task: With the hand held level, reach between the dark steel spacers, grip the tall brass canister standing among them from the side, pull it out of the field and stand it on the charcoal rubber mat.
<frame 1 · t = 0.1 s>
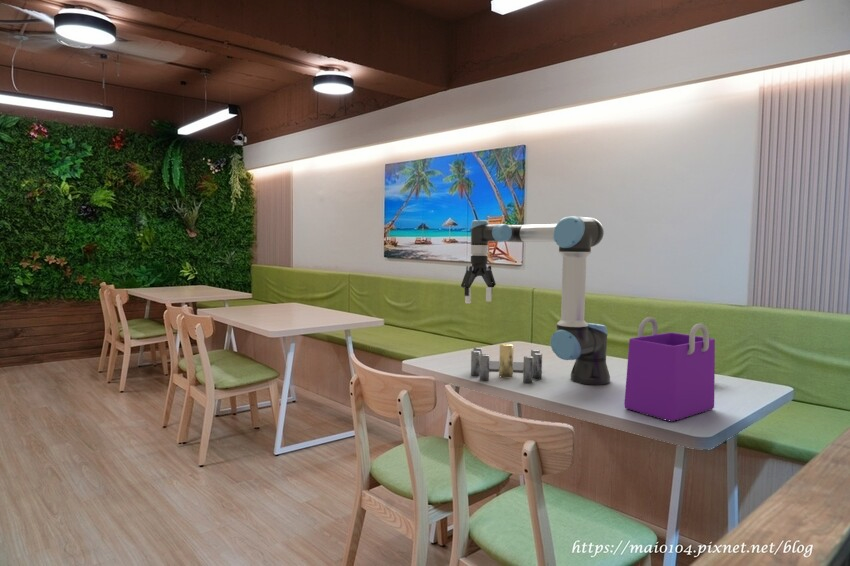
hand: (478, 302, 244), 28 cm above the table, tool pointing down, fingers open, 13 cm apart
brass canister: (505, 376, 223), on the table
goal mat: (505, 367, 239), on the table
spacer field: (505, 376, 223), on the table
shopping bag: (669, 410, 181), on the table
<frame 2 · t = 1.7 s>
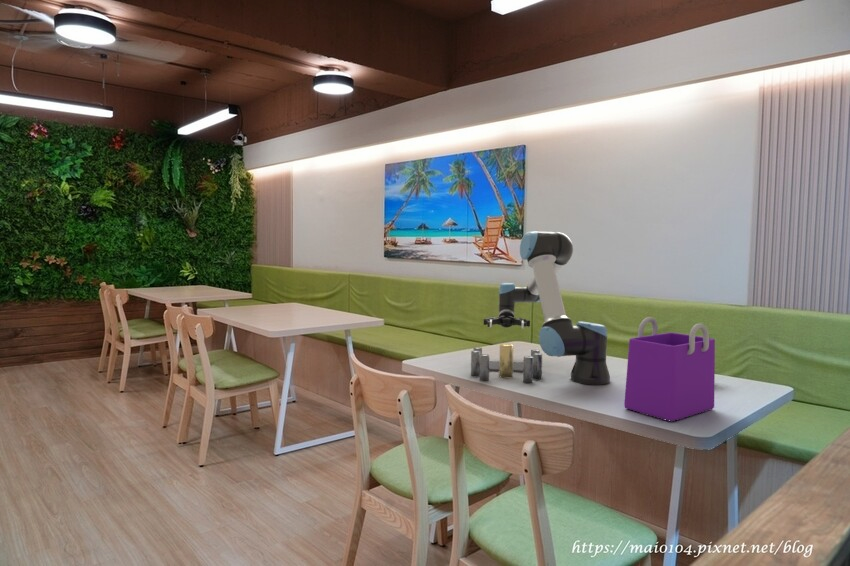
hand: (506, 325, 232), 20 cm above the table, tool horizontal, fingers open, 13 cm apart
nothing on the table moved.
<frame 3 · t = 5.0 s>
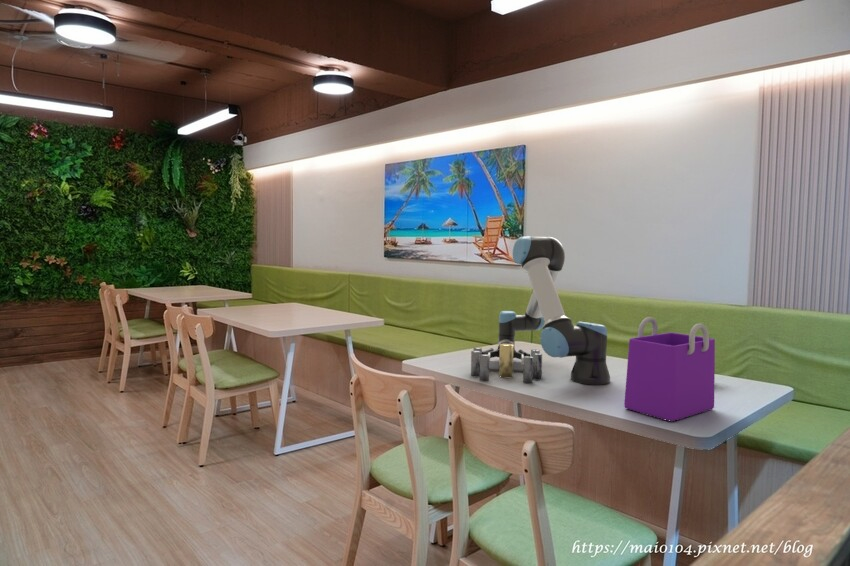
hand: (505, 360, 222), 7 cm above the table, tool horizontal, fingers open, 13 cm apart
nothing on the table moved.
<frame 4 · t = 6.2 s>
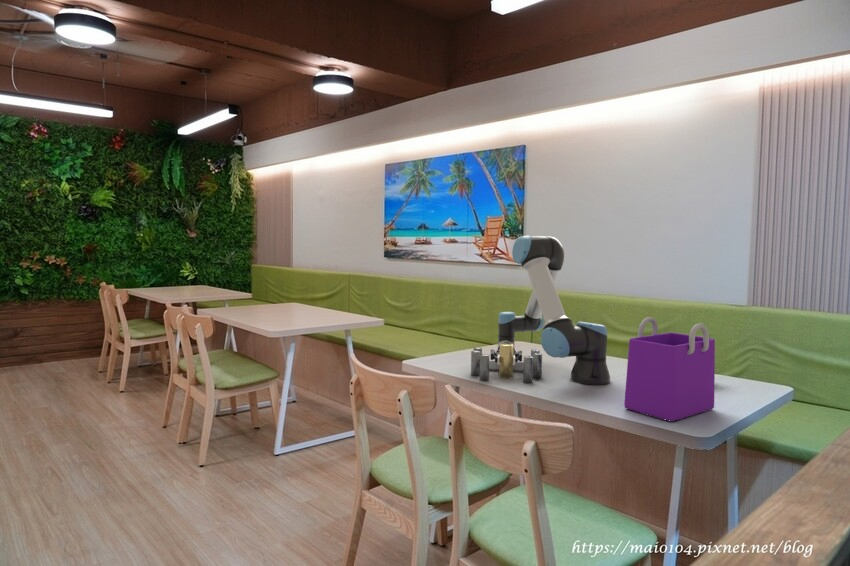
hand: (506, 361, 218), 7 cm above the table, tool horizontal, fingers closed on brass canister, 6 cm apart
brass canister: (505, 376, 223), on the table, touching gripper
everything else where it was.
when the fingers open (9 cm above the table, at t = 10.8 s): brass canister drops 1 cm, resting on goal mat.
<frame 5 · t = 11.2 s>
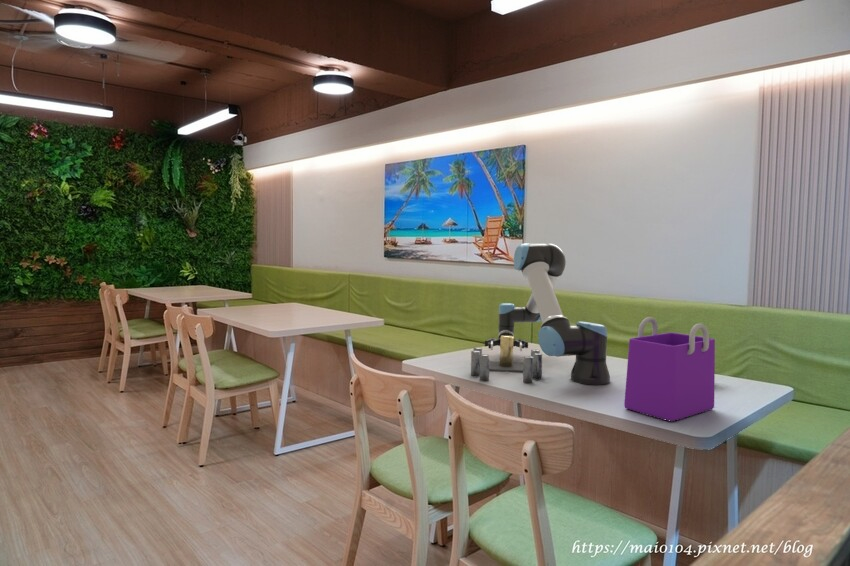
hand: (506, 347, 235), 10 cm above the table, tool horizontal, fingers open, 12 cm apart
brass canister: (505, 365, 239), point 1 cm above the table, touching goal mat
everything else where it was.
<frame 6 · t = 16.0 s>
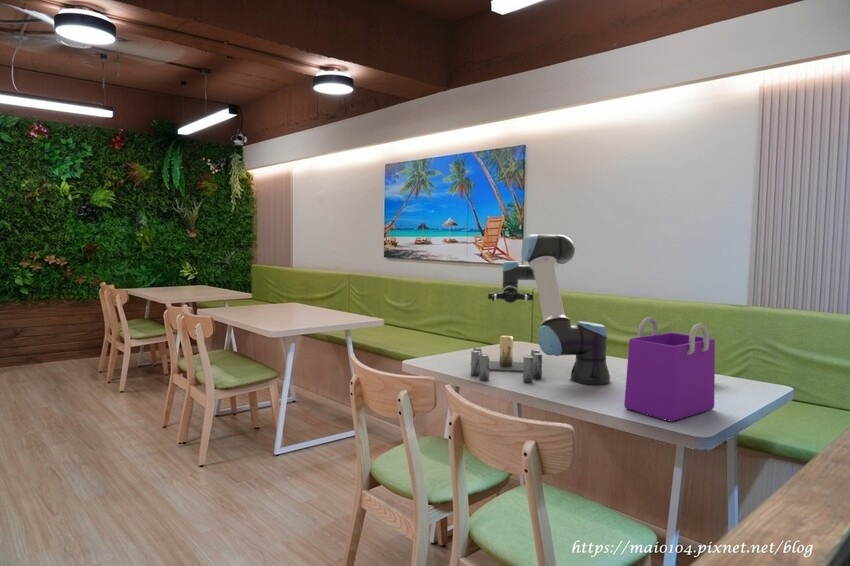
hand: (510, 298, 241), 30 cm above the table, tool horizontal, fingers open, 13 cm apart
nothing on the table moved.
at the end: brass canister inside the target area on the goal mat (0.4 cm from its centre), point 0.8 cm above the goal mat's base; brass canister tilted 1°; the gripper is holding nothing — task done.
